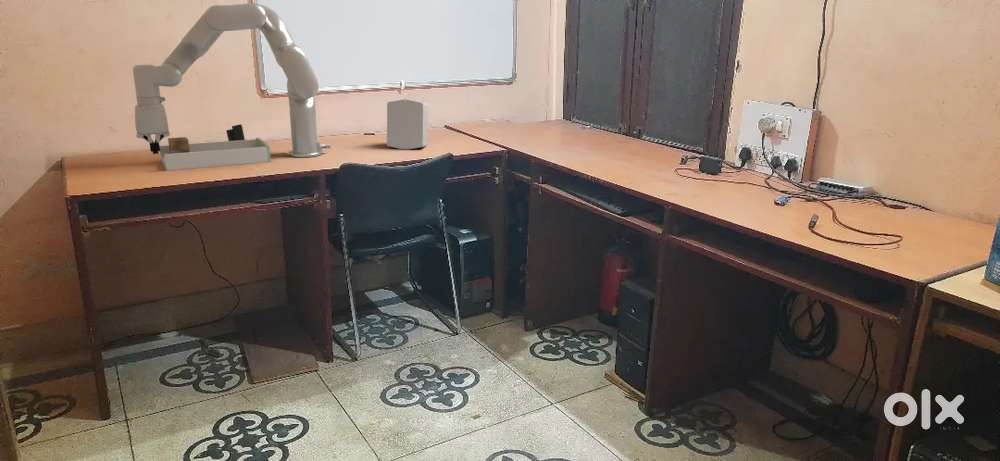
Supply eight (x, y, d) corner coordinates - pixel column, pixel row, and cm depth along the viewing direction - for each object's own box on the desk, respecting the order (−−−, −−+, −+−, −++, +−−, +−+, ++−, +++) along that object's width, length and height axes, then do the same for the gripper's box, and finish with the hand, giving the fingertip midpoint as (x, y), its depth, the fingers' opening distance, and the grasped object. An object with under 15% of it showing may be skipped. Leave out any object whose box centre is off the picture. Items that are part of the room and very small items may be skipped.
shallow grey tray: (259, 153, 279) (258, 137, 277) (270, 161, 264) (269, 145, 262) (161, 160, 262) (159, 144, 260) (166, 170, 247) (164, 153, 245)
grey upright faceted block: (429, 148, 305) (430, 100, 302) (422, 150, 290) (423, 99, 287) (395, 147, 306) (395, 99, 303) (386, 148, 291) (387, 98, 288)
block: (187, 153, 264) (185, 137, 262) (190, 156, 259) (188, 139, 257) (170, 154, 261) (168, 138, 259) (171, 157, 256) (169, 140, 254)
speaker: (251, 150, 283) (246, 123, 280) (238, 152, 279) (232, 126, 276) (240, 149, 288) (235, 123, 285) (227, 152, 284) (222, 125, 281)
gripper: (171, 99, 257) (177, 150, 262) (124, 101, 250) (131, 153, 255) (173, 101, 251) (179, 153, 256) (125, 103, 243) (133, 157, 249)
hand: (155, 153), depth 256 cm, fingers closed
